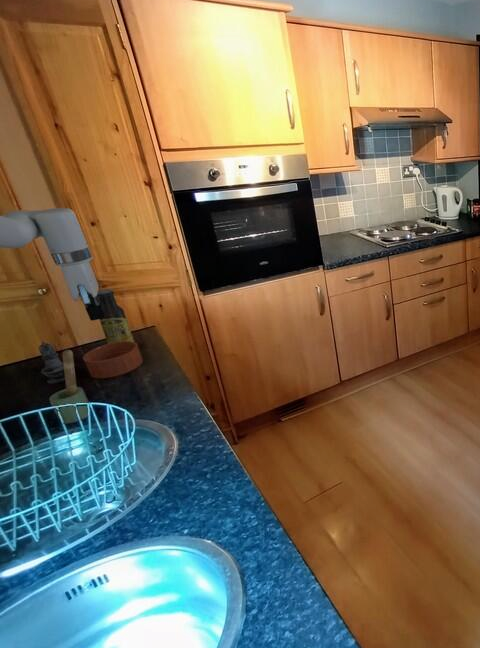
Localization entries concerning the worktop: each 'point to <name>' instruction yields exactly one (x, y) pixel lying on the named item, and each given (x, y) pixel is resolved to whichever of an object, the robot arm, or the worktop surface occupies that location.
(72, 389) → the stick
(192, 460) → the worktop surface
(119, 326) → the sauce bottle
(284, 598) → the worktop surface
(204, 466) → the worktop surface
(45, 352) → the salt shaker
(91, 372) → the bowl
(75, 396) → the holder
